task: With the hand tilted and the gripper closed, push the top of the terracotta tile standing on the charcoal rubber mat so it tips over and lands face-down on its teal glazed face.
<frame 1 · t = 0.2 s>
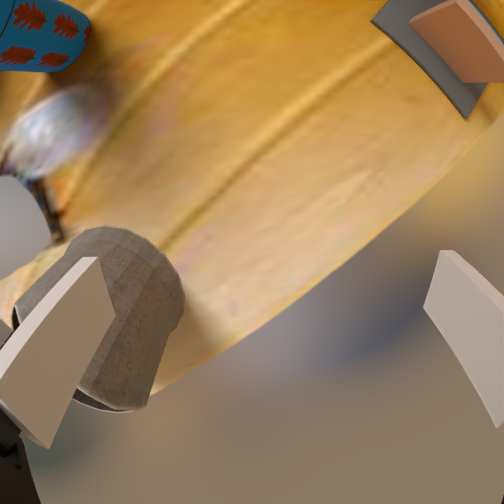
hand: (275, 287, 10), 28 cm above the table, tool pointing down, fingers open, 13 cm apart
pitcher: (108, 303, 45), on the table
tile: (439, 49, 25), point 1 cm above the table, touching mat
mat: (450, 30, 24), on the table
thermos: (63, 41, 26), on the table
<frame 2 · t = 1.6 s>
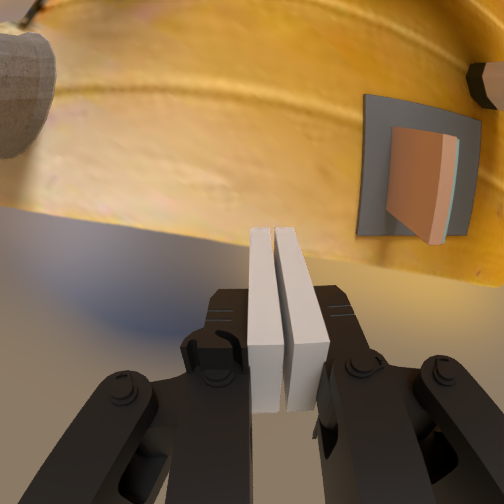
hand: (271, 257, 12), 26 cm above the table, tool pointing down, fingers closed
tile: (395, 169, 35), point 1 cm above the table, touching mat
wine bottle: (481, 85, 28), on the table
mat: (426, 171, 35), on the table
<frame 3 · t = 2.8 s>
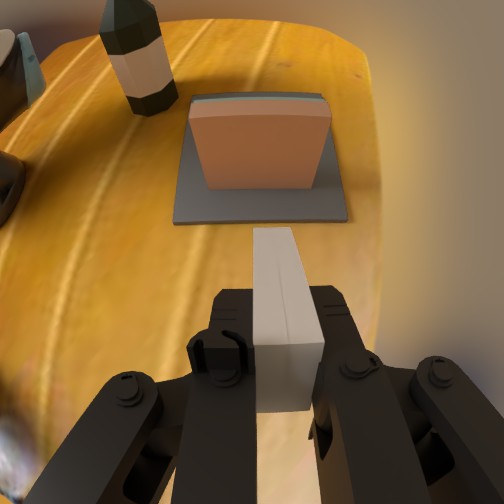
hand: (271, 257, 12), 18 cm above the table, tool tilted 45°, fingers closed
tile: (259, 181, 33), point 1 cm above the table, touching mat
wine bottle: (155, 100, 40), on the table
mat: (258, 147, 36), on the table
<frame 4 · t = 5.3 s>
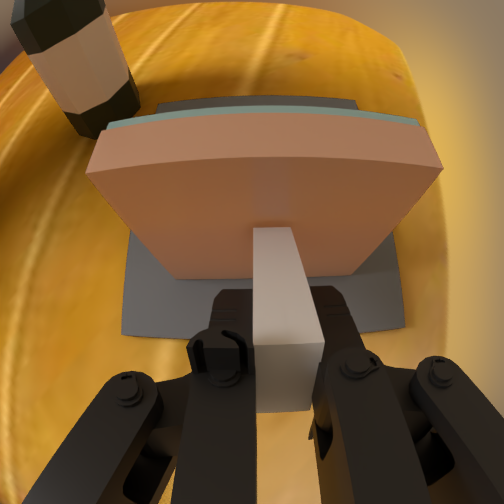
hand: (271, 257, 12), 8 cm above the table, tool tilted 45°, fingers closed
tile: (263, 264, 19), point 1 cm above the table, touching gripper, mat
wine bottle: (109, 113, 27), on the table
mat: (260, 193, 22), on the table
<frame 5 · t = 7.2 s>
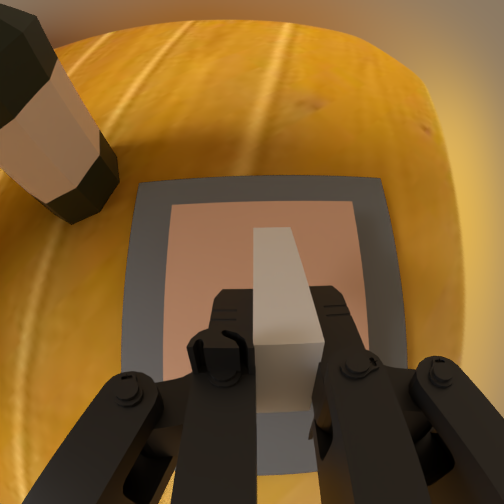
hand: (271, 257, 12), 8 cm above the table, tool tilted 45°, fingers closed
tile: (267, 395, 15), point 2 cm above the table, tilted 90°, touching mat
wine bottle: (84, 185, 23), on the table
mat: (265, 322, 19), on the table
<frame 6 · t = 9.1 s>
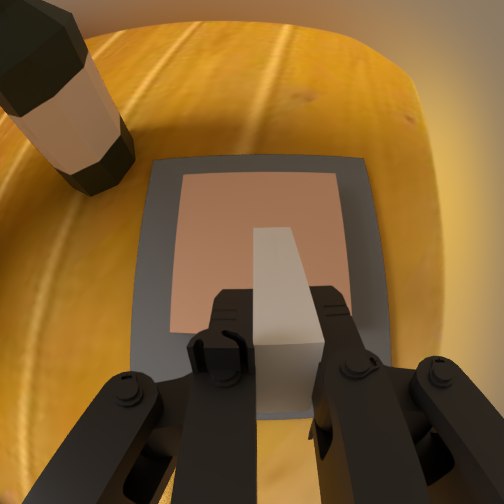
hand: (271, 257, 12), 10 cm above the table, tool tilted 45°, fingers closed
tile: (261, 335, 19), point 2 cm above the table, tilted 90°, touching mat
wine bottle: (103, 163, 27), on the table
mat: (260, 275, 22), on the table
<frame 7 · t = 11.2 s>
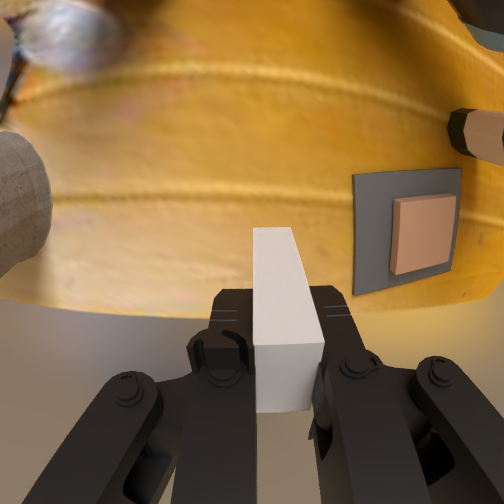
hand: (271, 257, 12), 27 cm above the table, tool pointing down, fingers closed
tile: (395, 238, 40), point 2 cm above the table, tilted 90°, touching mat
wine bottle: (461, 130, 35), on the table
mat: (411, 229, 42), on the table
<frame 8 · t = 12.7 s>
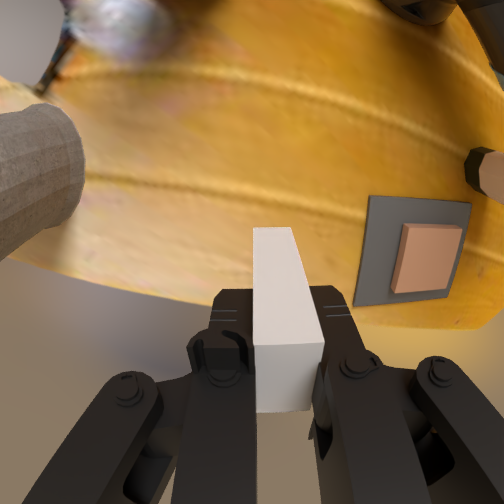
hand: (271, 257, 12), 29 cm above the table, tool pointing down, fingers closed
pitcher: (22, 166, 38), on the table
tile: (399, 259, 43), point 2 cm above the table, tilted 90°, touching mat
wine bottle: (478, 168, 37), on the table
mat: (415, 253, 45), on the table
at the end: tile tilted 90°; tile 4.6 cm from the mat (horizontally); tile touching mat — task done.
